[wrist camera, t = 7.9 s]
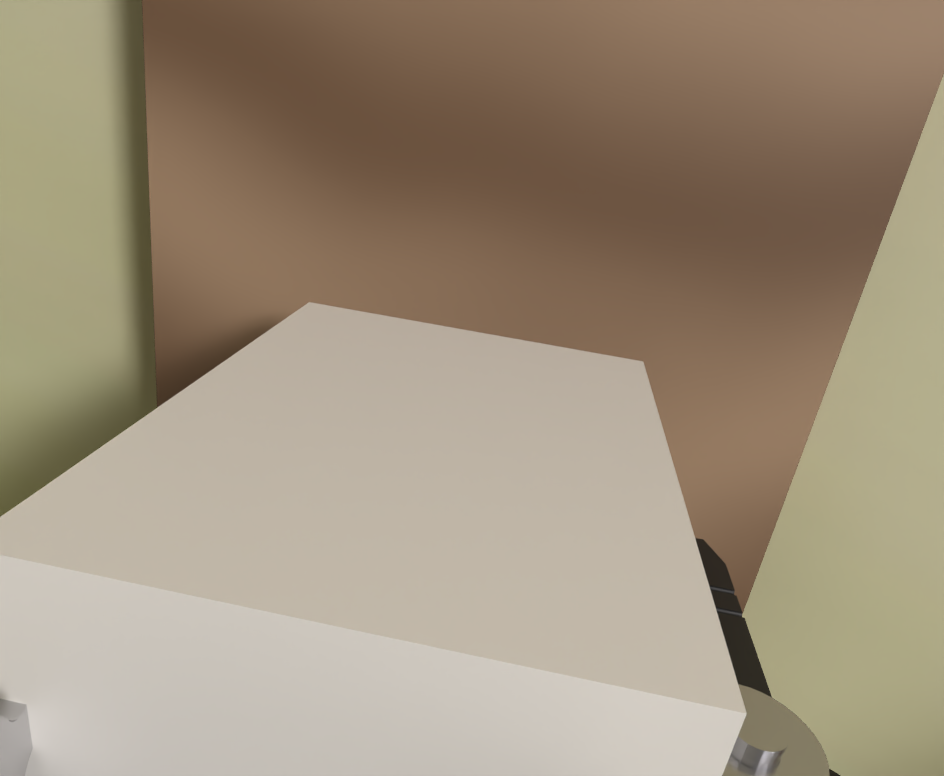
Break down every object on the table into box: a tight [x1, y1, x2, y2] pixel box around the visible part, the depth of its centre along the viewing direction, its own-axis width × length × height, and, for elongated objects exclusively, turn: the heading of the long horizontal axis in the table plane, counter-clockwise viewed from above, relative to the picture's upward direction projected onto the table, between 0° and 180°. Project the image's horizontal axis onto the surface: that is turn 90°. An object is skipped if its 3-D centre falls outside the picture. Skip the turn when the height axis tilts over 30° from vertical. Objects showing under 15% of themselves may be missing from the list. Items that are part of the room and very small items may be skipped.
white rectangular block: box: [0, 302, 747, 776], centre depth 8 cm, size 5×5×7 cm
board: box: [142, 0, 944, 613], centre depth 11 cm, size 23×12×2 cm, turn 172°
